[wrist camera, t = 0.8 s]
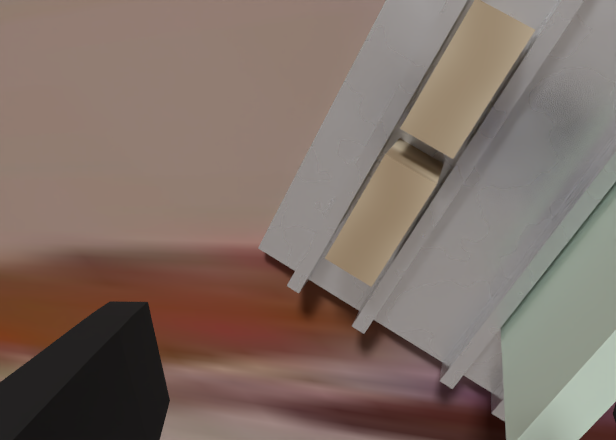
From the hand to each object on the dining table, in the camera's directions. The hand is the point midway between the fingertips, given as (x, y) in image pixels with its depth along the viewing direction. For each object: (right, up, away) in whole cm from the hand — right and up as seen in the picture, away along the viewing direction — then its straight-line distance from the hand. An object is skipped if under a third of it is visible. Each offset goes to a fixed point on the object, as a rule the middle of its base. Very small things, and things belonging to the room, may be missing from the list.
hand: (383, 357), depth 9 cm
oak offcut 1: (+2, +3, +14) cm, 15 cm away
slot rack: (+7, +4, +14) cm, 16 cm away
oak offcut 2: (+5, +7, +12) cm, 15 cm away
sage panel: (+9, +2, +13) cm, 16 cm away
